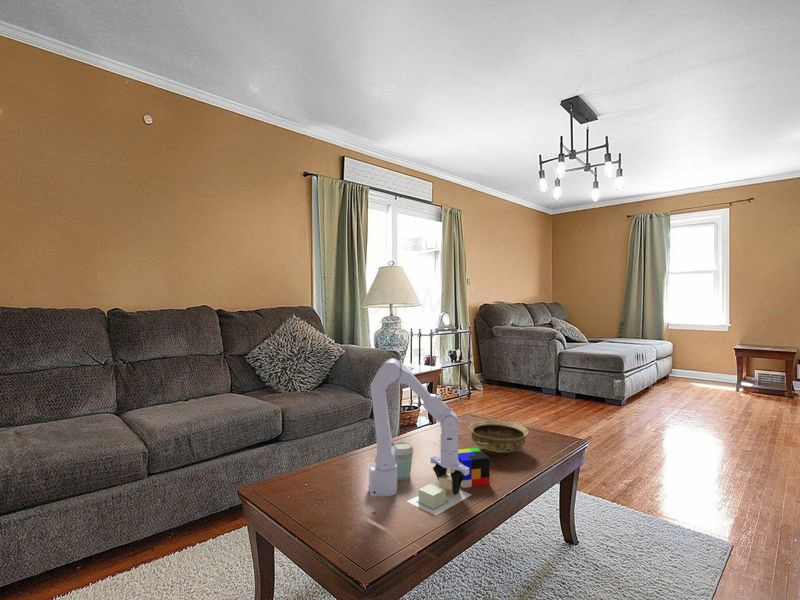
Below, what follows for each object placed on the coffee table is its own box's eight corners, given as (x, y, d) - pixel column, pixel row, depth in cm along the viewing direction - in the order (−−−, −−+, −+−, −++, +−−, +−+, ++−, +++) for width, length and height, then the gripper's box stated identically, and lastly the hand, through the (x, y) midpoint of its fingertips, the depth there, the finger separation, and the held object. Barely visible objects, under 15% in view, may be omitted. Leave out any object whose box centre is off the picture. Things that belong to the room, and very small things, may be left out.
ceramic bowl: (508, 471, 158) (508, 444, 158) (453, 455, 174) (453, 431, 174) (540, 448, 181) (540, 425, 181) (490, 436, 197) (490, 415, 197)
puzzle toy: (462, 490, 143) (462, 460, 143) (451, 478, 153) (451, 450, 153) (489, 486, 146) (489, 457, 146) (476, 474, 156) (476, 447, 156)
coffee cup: (416, 475, 155) (416, 442, 155) (410, 485, 147) (410, 450, 147) (393, 472, 158) (393, 440, 157) (386, 482, 149) (386, 448, 149)
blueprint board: (435, 518, 126) (435, 515, 126) (406, 503, 134) (406, 501, 134) (471, 497, 138) (471, 494, 138) (442, 485, 147) (442, 482, 147)
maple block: (450, 497, 136) (450, 482, 136) (438, 492, 140) (438, 477, 140) (460, 492, 140) (460, 477, 140) (448, 487, 143) (448, 473, 143)
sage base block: (433, 508, 129) (433, 495, 129) (418, 502, 134) (418, 489, 134) (445, 501, 134) (445, 489, 134) (431, 495, 138) (431, 483, 138)
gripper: (474, 451, 137) (474, 493, 138) (439, 440, 148) (439, 479, 148) (461, 457, 132) (461, 501, 133) (426, 445, 143) (426, 486, 143)
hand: (449, 490), depth 140 cm, fingers closed on maple block, 5 cm apart
